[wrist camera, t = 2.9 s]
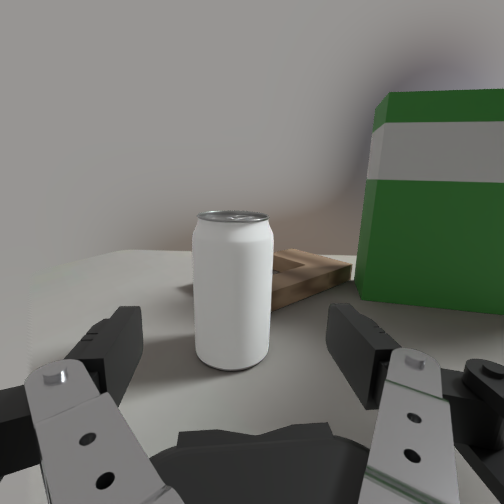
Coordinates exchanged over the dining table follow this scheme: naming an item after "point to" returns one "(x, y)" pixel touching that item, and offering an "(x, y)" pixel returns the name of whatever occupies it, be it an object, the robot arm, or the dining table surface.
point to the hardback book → (435, 202)
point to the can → (232, 288)
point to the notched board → (304, 276)
